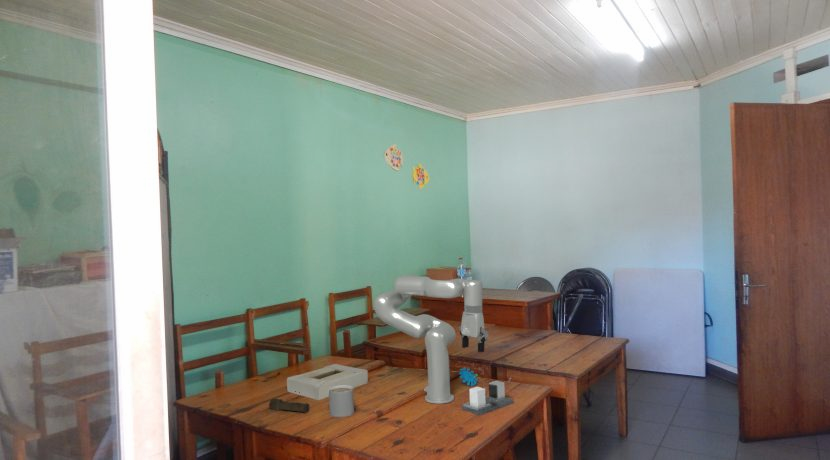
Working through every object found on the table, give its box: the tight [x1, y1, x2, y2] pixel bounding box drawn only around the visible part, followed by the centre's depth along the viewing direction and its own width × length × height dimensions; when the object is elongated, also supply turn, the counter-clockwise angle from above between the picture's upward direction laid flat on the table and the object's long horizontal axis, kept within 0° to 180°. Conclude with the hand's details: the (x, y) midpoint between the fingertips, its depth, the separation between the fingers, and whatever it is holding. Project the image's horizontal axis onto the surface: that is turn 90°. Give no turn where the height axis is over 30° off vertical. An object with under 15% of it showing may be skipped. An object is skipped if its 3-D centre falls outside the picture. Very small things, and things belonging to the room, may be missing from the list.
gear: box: [458, 366, 478, 387], centre depth 249 cm, size 11×6×10 cm
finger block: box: [469, 386, 487, 407], centre depth 213 cm, size 4×5×7 cm
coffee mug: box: [328, 385, 355, 418], centre depth 216 cm, size 13×10×10 cm
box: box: [286, 363, 369, 401], centre depth 251 cm, size 23×8×32 cm
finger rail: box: [461, 380, 514, 416], centre depth 216 cm, size 10×21×8 cm, turn 130°
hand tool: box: [268, 398, 310, 415], centre depth 220 cm, size 19×4×5 cm, turn 67°
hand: (473, 349), depth 220 cm, fingers open, 9 cm apart
